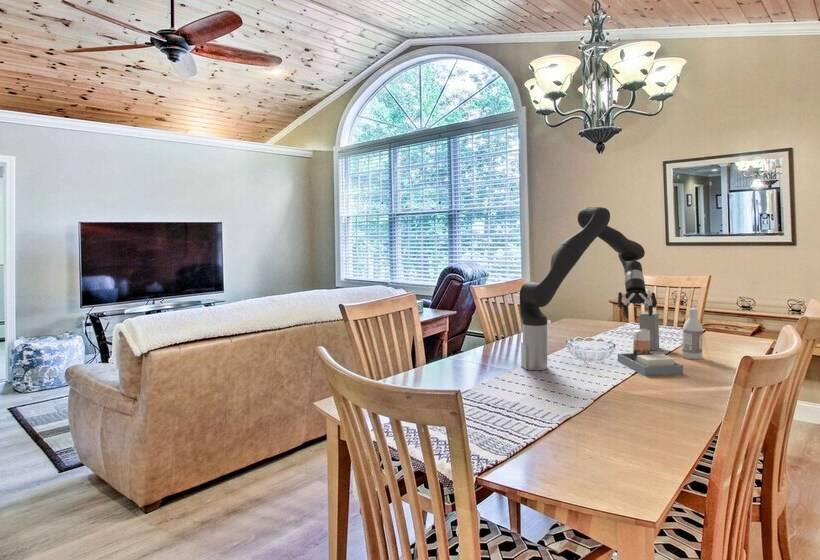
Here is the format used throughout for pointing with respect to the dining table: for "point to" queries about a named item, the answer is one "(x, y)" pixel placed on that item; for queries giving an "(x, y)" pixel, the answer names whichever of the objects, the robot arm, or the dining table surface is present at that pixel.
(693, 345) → the bath foam
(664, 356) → the egg box
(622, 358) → the tray
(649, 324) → the skincare box
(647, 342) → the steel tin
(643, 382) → the dining table surface
